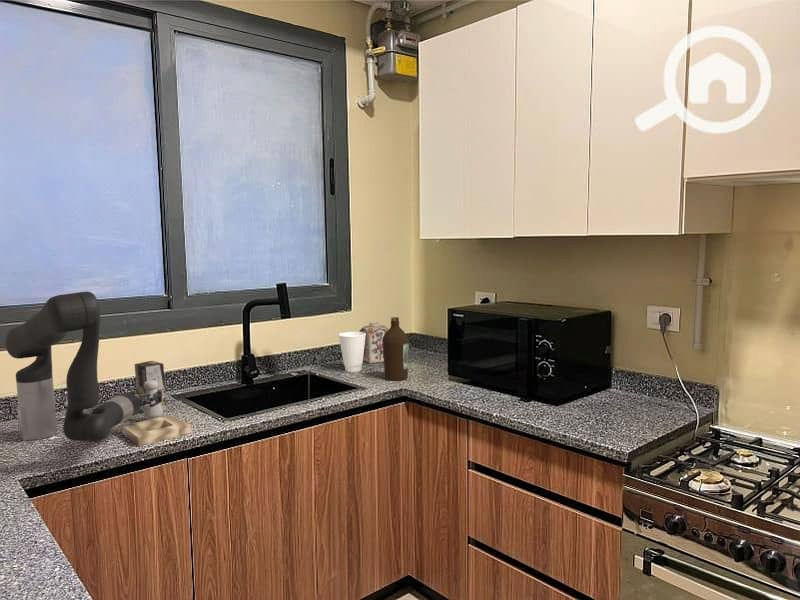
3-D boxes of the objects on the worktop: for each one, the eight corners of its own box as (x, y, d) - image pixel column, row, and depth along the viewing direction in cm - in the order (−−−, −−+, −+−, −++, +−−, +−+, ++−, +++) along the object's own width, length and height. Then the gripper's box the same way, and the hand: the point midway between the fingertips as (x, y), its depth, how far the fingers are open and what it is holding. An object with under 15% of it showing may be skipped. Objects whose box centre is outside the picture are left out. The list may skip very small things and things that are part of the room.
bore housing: (138, 446, 162) (138, 437, 162) (122, 433, 173) (121, 425, 173) (191, 433, 172) (190, 425, 172) (172, 422, 183) (172, 414, 183)
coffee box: (167, 409, 198) (164, 363, 196) (148, 414, 193) (145, 366, 191) (155, 404, 204) (152, 360, 202) (137, 409, 199) (133, 363, 197)
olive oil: (380, 381, 230) (379, 319, 228) (386, 374, 241) (384, 315, 238) (406, 381, 228) (405, 319, 226) (411, 375, 239) (410, 315, 236)
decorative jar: (369, 363, 263) (368, 325, 261) (358, 359, 273) (357, 322, 271) (392, 360, 269) (391, 322, 267) (381, 356, 279) (380, 319, 277)
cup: (351, 366, 259) (350, 331, 258) (372, 369, 252) (371, 333, 251) (334, 371, 250) (332, 334, 248) (354, 374, 243) (353, 337, 241)
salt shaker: (157, 416, 190) (155, 377, 188) (166, 419, 186) (163, 380, 185) (140, 420, 185) (137, 381, 184) (149, 424, 182) (146, 384, 180)
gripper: (143, 395, 166) (168, 382, 182) (95, 396, 166) (124, 382, 182) (145, 421, 166) (169, 405, 182) (97, 421, 167) (126, 405, 183)
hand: (147, 393), depth 182 cm, fingers open, 8 cm apart
